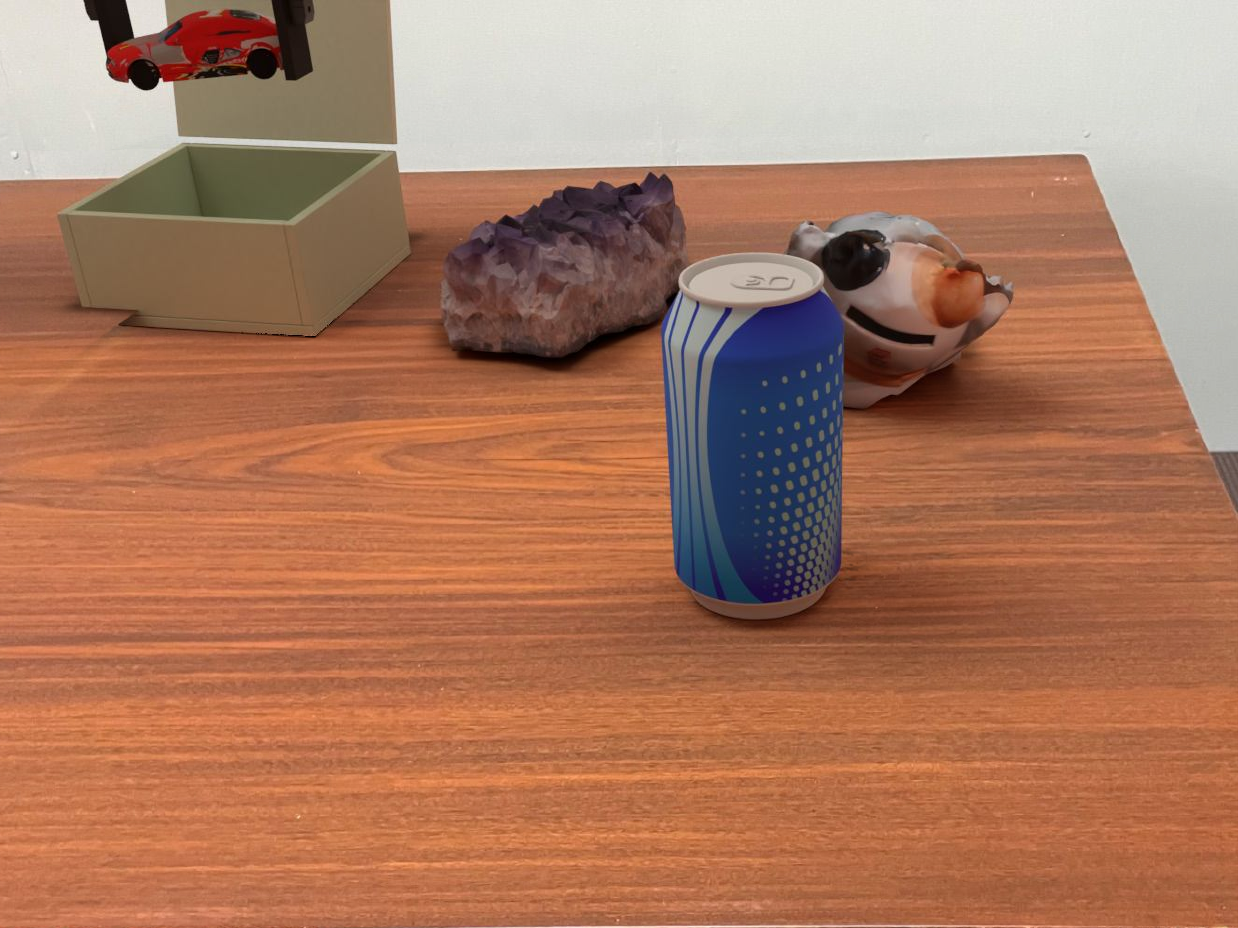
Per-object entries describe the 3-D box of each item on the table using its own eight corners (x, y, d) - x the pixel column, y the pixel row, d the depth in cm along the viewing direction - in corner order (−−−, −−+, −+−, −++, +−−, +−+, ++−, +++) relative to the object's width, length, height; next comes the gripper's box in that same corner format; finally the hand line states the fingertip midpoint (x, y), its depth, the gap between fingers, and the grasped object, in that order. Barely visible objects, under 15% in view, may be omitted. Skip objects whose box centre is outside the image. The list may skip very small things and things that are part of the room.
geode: (602, 264, 122) (610, 130, 116) (724, 313, 117) (738, 176, 111) (407, 339, 108) (404, 191, 102) (536, 398, 104) (540, 247, 98)
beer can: (750, 647, 77) (742, 324, 68) (642, 583, 82) (620, 276, 73) (875, 586, 81) (883, 275, 72) (764, 529, 87) (758, 233, 77)
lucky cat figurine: (968, 334, 108) (1045, 175, 96) (947, 471, 102) (1026, 319, 90) (754, 270, 107) (805, 101, 95) (720, 405, 101) (770, 242, 89)
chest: (315, 337, 111) (294, 224, 107) (85, 323, 114) (56, 213, 110) (411, 253, 125) (396, 150, 121) (204, 243, 128) (182, 142, 124)
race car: (109, 96, 107) (92, 32, 105) (112, 77, 112) (97, 15, 109) (310, 76, 110) (298, 13, 108) (305, 59, 114) (294, -2, 112)
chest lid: (378, -136, 113) (383, -134, 114) (150, -136, 116) (156, -135, 117) (393, 144, 120) (397, 144, 121) (178, 136, 123) (183, 136, 124)
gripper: (347, -305, 99) (399, 64, 111) (-7, -298, 104) (81, 56, 116) (293, -298, 93) (355, 91, 106) (-80, -291, 98) (22, 82, 110)
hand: (212, 73), depth 111 cm, fingers closed on race car, 12 cm apart
